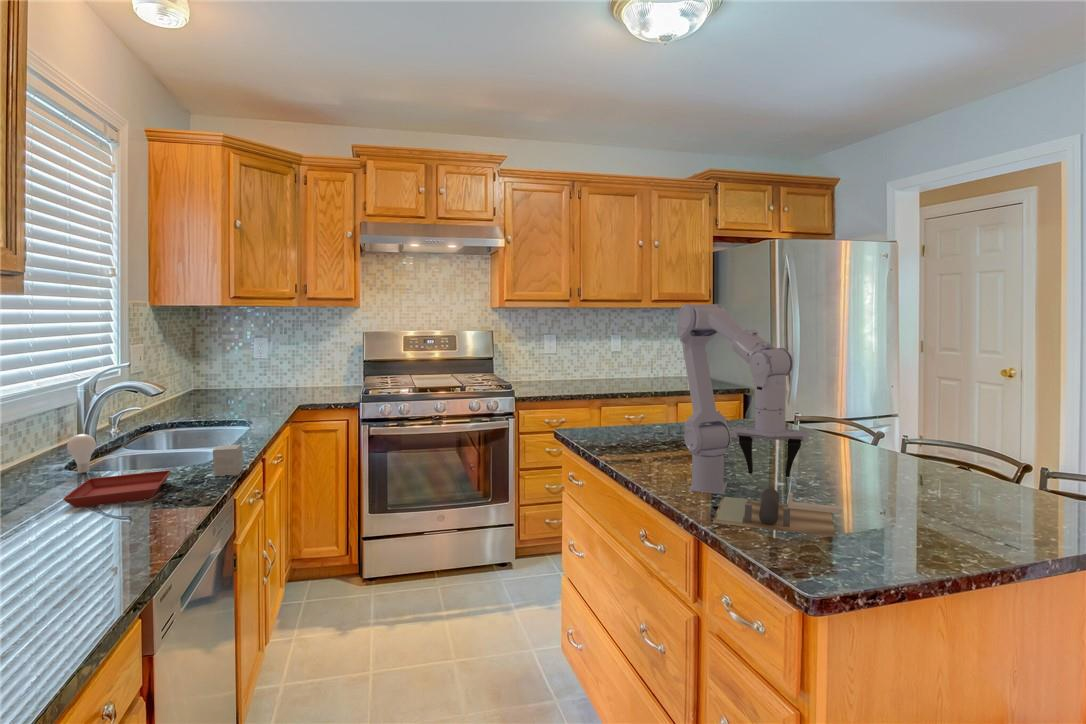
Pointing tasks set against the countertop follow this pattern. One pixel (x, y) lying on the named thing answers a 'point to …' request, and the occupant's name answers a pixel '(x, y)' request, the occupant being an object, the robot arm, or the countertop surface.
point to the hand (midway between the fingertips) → (768, 474)
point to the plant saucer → (117, 489)
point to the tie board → (788, 518)
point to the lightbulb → (81, 450)
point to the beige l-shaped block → (812, 506)
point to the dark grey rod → (769, 507)
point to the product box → (227, 460)
